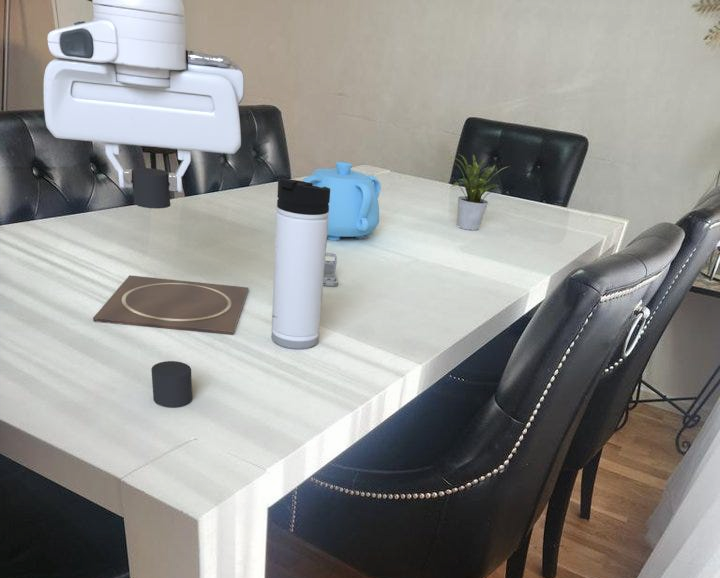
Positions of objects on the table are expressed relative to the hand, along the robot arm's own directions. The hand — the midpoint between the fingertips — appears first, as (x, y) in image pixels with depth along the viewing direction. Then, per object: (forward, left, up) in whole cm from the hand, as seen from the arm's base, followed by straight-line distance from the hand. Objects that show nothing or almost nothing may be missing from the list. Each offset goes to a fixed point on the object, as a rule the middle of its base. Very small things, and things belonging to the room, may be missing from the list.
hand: (151, 189), depth 74 cm
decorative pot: (+23, +60, -17) cm, 67 cm away
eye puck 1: (0, 0, -2) cm, 2 cm away
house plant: (+53, +80, -17) cm, 98 cm away
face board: (0, +10, -17) cm, 20 cm away
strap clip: (+21, +29, -17) cm, 40 cm away
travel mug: (+17, +1, -17) cm, 24 cm away
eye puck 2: (+5, -18, -17) cm, 25 cm away
